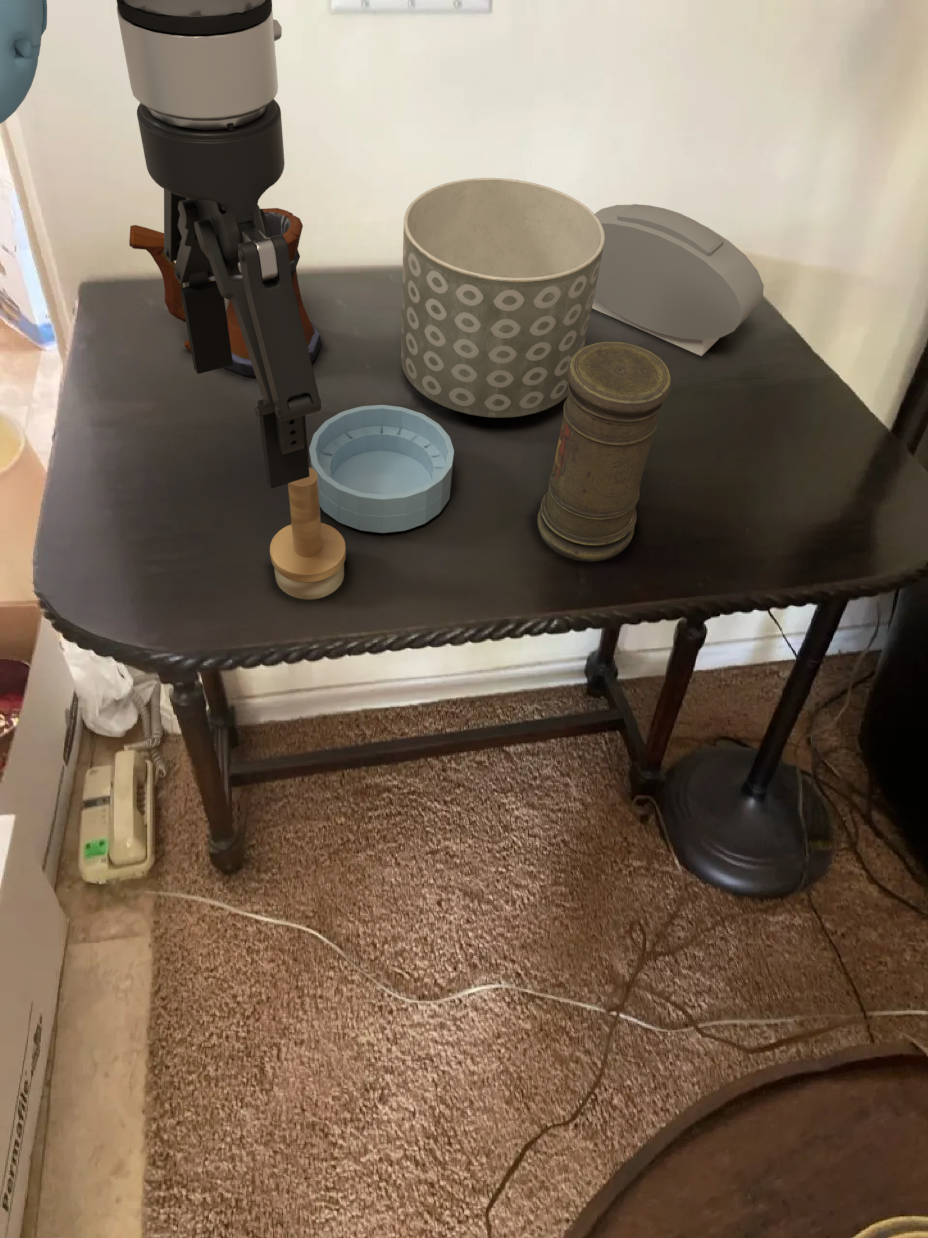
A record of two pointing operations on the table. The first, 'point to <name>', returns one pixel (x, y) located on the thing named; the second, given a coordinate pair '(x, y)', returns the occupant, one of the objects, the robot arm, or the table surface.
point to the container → (602, 450)
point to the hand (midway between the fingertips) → (249, 420)
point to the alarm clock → (673, 277)
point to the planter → (496, 294)
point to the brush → (307, 546)
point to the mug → (278, 225)
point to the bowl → (382, 468)
